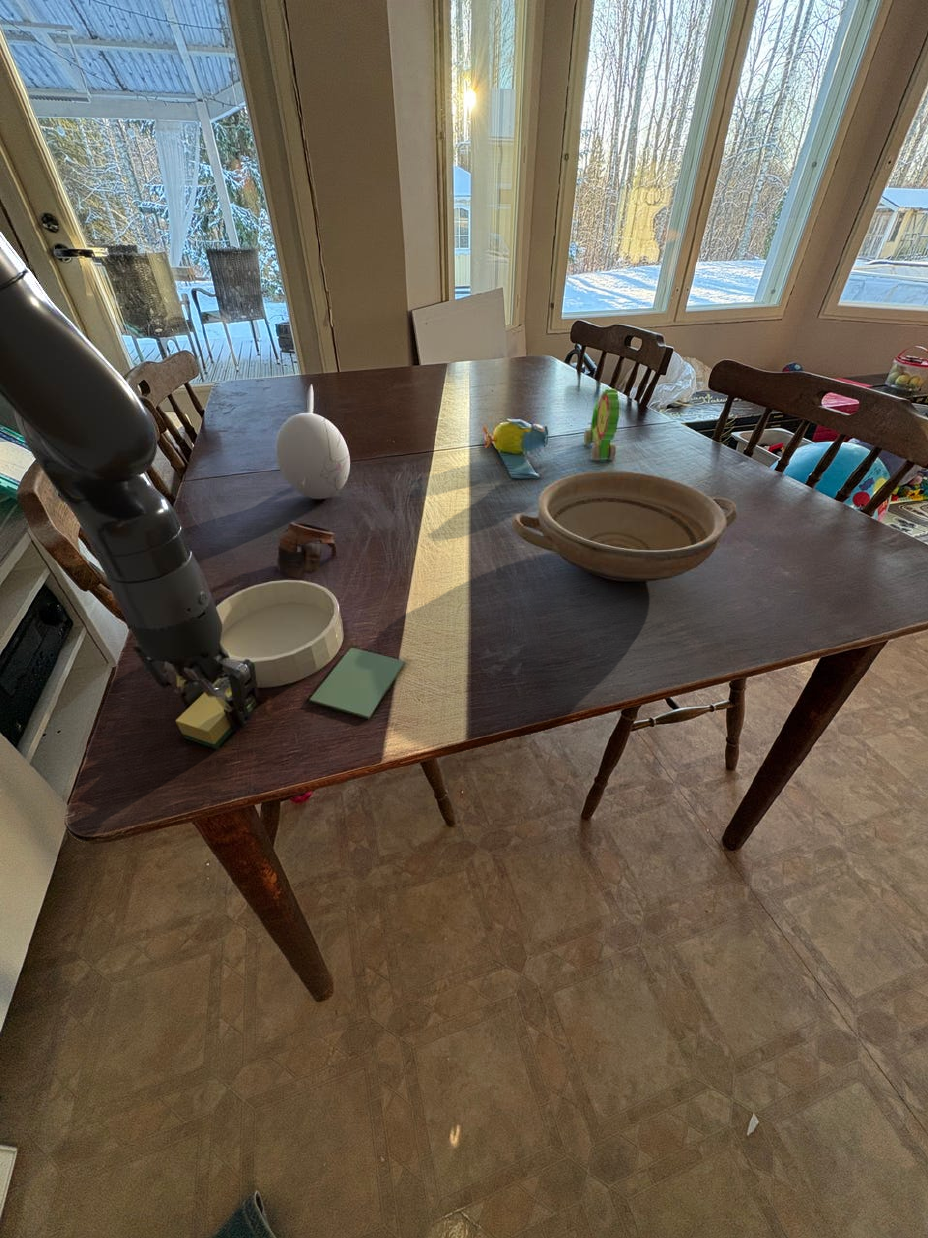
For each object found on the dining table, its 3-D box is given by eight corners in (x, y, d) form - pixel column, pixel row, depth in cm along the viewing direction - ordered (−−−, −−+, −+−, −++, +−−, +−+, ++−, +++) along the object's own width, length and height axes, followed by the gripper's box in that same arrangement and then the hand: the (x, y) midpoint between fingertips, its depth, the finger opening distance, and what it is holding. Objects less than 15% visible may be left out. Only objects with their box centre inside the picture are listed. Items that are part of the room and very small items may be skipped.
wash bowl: (297, 702, 62) (288, 675, 59) (184, 668, 66) (171, 642, 63) (365, 618, 74) (361, 593, 71) (267, 595, 79) (259, 570, 76)
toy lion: (581, 442, 130) (590, 378, 121) (602, 442, 130) (613, 378, 121) (593, 466, 118) (604, 397, 109) (617, 466, 118) (630, 397, 109)
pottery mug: (267, 564, 87) (277, 516, 85) (322, 573, 92) (331, 528, 90) (284, 581, 77) (295, 528, 75) (343, 590, 82) (355, 540, 81)
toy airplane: (473, 402, 128) (532, 400, 130) (472, 437, 133) (528, 435, 135) (498, 441, 106) (568, 438, 108) (496, 480, 112) (562, 477, 114)
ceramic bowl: (532, 624, 73) (539, 565, 67) (491, 529, 95) (493, 477, 89) (769, 598, 78) (795, 540, 71) (677, 513, 100) (691, 463, 93)
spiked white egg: (329, 436, 88) (347, 378, 105) (251, 443, 89) (282, 384, 106) (355, 525, 102) (367, 461, 119) (287, 531, 102) (309, 466, 119)
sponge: (216, 749, 56) (208, 731, 54) (184, 738, 57) (174, 720, 56) (257, 704, 61) (250, 686, 60) (226, 695, 63) (219, 677, 61)
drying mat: (368, 719, 60) (368, 716, 59) (309, 701, 62) (309, 699, 61) (405, 663, 67) (404, 661, 67) (351, 649, 69) (351, 647, 69)
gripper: (76, 608, 48) (147, 726, 58) (199, 642, 44) (251, 761, 55) (141, 567, 53) (195, 681, 64) (255, 594, 49) (292, 711, 60)
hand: (220, 718), depth 59 cm, fingers open, 5 cm apart
